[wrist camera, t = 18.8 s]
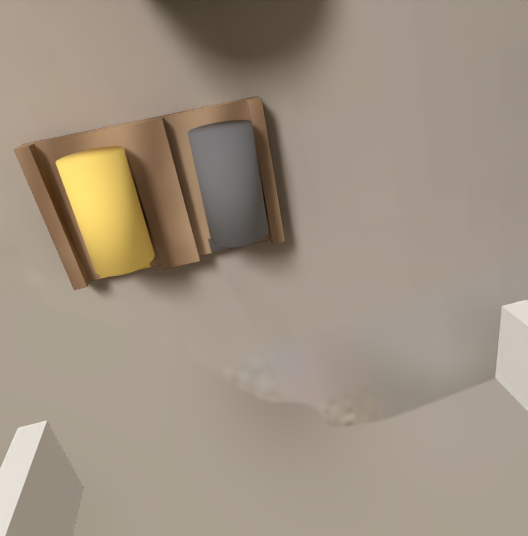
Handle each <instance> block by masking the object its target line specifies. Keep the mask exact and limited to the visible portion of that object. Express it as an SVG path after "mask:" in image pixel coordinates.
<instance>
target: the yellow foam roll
mask: <svg viewBox="0 0 528 536" xmlns="http://www.w3.org/2000/svg"><path fill="white" fill-rule="evenodd" d="M56 165H57V168H58V171H59V174H60V176H61V179H62V182H63V184H64V187H65V190H66V193H67V195H68V198H69V201H70V204H71V206H72V209H73V212H74V215H75V217H76V220H77V223H78V226H79V228H80V231H81V234H82V237H83V239H84V242H85V245H86V247H87V250H88V253H89V256H90V258H91V261H92V264H93V267H94V269H95V272H96V273H97V274H99V275H102V276H118V275H123V274H127V273H130V272H133V271H136V270H138V269H140V268H142V267H144V266H146V265H147V264H149V263H150V262H151V261H152V260H153V259H154V256H155V254H154V251H153V247H152V244H151V240H150V237H149V233H148V230H147V226H146V223H145V220H144V216H143V213H142V209H141V206H140V202H139V199H138V195H137V192H136V188H135V185H134V181H133V178H132V175H131V171H130V168H129V164H128V161H127V157H126V154H125V150H124V147H122V146H109V147H101V148H96V149H90V150H86V151H82V152H78V153H74V154H71V155H68V156H65V157H63V158H60V159H58V160H57V161H56Z"/></svg>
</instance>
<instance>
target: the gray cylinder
mask: <svg viewBox="0 0 528 536" xmlns="http://www.w3.org/2000/svg"><path fill="white" fill-rule="evenodd" d="M188 137H189V142H190V146H191V151H192V155H193V160H194V164H195V169H196V174H197V178H198V183H199V187H200V192H201V196H202V201H203V205H204V210H205V215H206V219H207V224H208V228H209V233H210V237H211V241H212V243H213V244H214V245H216V246H219V247H227V248H232V247H241V246H246V245H250V244H253V243H255V242H258V241H260V240H261V239H263V238H264V237H265V236H266V235H267V234H268V224H267V218H266V211H265V205H264V198H263V192H262V185H261V179H260V172H259V165H258V159H257V152H256V146H255V139H254V133H253V126H252V121H250V120H231V121H223V122H217V123H212V124H207V125H203V126H200V127H196V128H194V129H191V130H189V131H188Z"/></svg>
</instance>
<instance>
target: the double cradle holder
mask: <svg viewBox="0 0 528 536" xmlns="http://www.w3.org/2000/svg"><path fill="white" fill-rule="evenodd" d="M231 120H250V121H252V126H253V133H254V139H255V146H256V152H257V159H258V165H259V172H260V179H261V185H262V192H263V198H264V205H265V211H266V218H267V224H268V234H267V235H266V236H265V237H264V238H263V239H261V240H260V241H258V242H262V241H267V240H271V241H272V243H273V244H276V243H280V242H285V238H284V232H283V226H282V220H281V214H280V208H279V202H278V196H277V189H276V183H275V177H274V171H273V165H272V159H271V153H270V147H269V141H268V134H267V128H266V122H265V116H264V110H263V104H262V99H261V98H259V97H252V98H247V99H242V100H237V101H232V102H227V103H222V104H217V105H212V106H208V107H203V108H198V109H193V110H188V111H183V112H178V113H173V114H168V115H163V116H159V117H154V118H149V119H144V120H139V121H134V122H129V123H124V124H119V125H114V126H110V127H105V128H100V129H95V130H90V131H85V132H80V133H75V134H70V135H65V136H60V137H56V138H51V139H46V140H41V141H36V142H31V143H26V144H22V145H21V146H19V147H17V148H15V149H14V152H15V154H16V156H17V159H18V161H19V163H20V165H21V168H22V170H23V172H24V175H25V177H26V179H27V182H28V184H29V186H30V189H31V191H32V193H33V196H34V198H35V200H36V203H37V205H38V207H39V210H40V212H41V214H42V217H43V219H44V221H45V224H46V226H47V228H48V230H49V233H50V235H51V237H52V240H53V242H54V244H55V247H56V249H57V251H58V254H59V256H60V258H61V261H62V263H63V265H64V268H65V270H66V272H67V275H68V277H69V279H70V282H71V284H72V286H73V289H74V290H77V289H81V288H85V287H87V286H88V283H89V281H93V280H97V279H101V278H106V277H110V276H102V275H99V274H97V273H96V272H95V269H94V267H93V264H92V261H91V258H90V256H89V253H88V250H87V247H86V245H85V242H84V239H83V237H82V234H81V231H80V228H79V226H78V223H77V220H76V217H75V215H74V212H73V209H72V206H71V204H70V201H69V198H68V195H67V193H66V190H65V187H64V184H63V182H62V179H61V176H60V174H59V171H58V168H57V165H56V161H57V160H58V159H60V158H63V157H65V156H68V155H71V154H74V153H78V152H82V151H86V150H90V149H96V148H101V147H109V146H122V147H124V150H125V154H126V157H127V161H128V164H129V168H130V171H131V175H132V178H133V181H134V185H135V188H136V192H137V195H138V199H139V202H140V206H141V209H142V213H143V216H144V220H145V223H146V226H147V230H148V233H149V237H150V240H151V244H152V247H153V251H154V254H155V256H154V259H153V260H152V261H151V262H150V263H149V264H147V265H146V266H144V267H142V268H140V269H138V270H141V269H145V268H149V267H154V266H158V265H162V268H163V269H168V268H172V267H176V266H181V265H185V264H189V263H194V262H198V261H200V256H202V255H206V254H210V253H215V252H219V251H223V250H228V249H232V248H236V247H232V248H227V247H219V246H216V245H214V244H213V243H212V241H211V237H210V233H209V228H208V224H207V219H206V215H205V210H204V205H203V201H202V196H201V192H200V187H199V183H198V178H197V174H196V169H195V164H194V160H193V155H192V151H191V146H190V142H189V137H188V131H189V130H191V129H194V128H196V127H200V126H203V125H207V124H212V123H217V122H223V121H231ZM258 242H255V243H258ZM253 244H254V243H253Z"/></svg>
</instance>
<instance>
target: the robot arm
mask: <svg viewBox="0 0 528 536" xmlns="http://www.w3.org/2000/svg"><path fill="white" fill-rule="evenodd" d="M495 378H496V379H497V380H498V381H499V382H500V383H501V384H502V385H503V386H504V387H505V388H506V389H507V390H508V391H509V393H510V394H511V395H512V396H513V397H514V398H515V399H516V400H517V401H518V402H519V403H520V404H521V405H522V406H523V407H524V408H525V409H526V410H527V411H528V301H527V300H524V301H520V302H516V303H512V304H508V305H504V306H502V312H501V323H500V334H499V344H498V355H497V366H496V376H495ZM83 488H84V487H83V485H82V484H81V481H80V479H79V478H78V476H77V474H76V472H75V470H74V469H73V467H72V465H71V463H70V461H69V459H68V458H67V456H66V454H65V452H64V450H63V449H62V447H61V445H60V443H59V441H58V440H57V438H56V436H55V434H54V432H53V431H52V429H51V427H50V425H49V423H48V421H43V422H39V423H35V424H31V425H27V426H23V427H19V428H18V430H17V432H16V434H15V436H14V439H13V441H12V443H11V445H10V448H9V450H8V452H7V455H6V457H5V459H4V462H3V464H2V466H1V468H0V536H73V533H74V528H75V524H76V519H77V515H78V510H79V506H80V501H81V497H82V492H83Z"/></svg>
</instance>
